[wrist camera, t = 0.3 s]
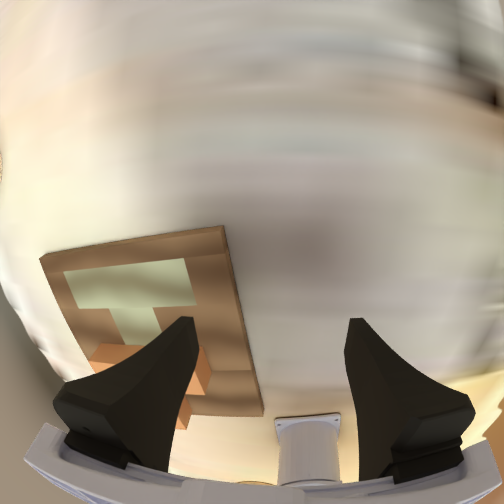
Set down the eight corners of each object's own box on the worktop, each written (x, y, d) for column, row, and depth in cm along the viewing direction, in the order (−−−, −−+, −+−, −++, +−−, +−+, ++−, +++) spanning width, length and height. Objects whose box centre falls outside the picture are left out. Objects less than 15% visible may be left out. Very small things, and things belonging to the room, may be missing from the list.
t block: (227, 411, 29) (222, 432, 26) (137, 403, 30) (129, 421, 28) (202, 346, 25) (194, 369, 22) (100, 343, 27) (87, 360, 24)
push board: (263, 408, 30) (263, 416, 28) (120, 398, 33) (116, 404, 31) (223, 225, 21) (220, 230, 20) (45, 253, 24) (38, 258, 23)
